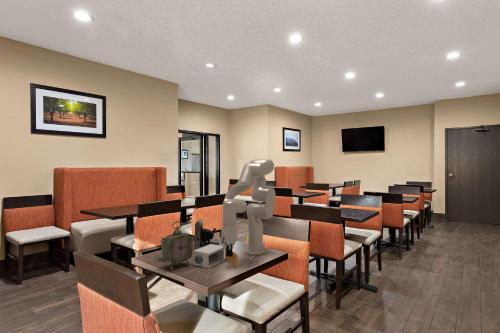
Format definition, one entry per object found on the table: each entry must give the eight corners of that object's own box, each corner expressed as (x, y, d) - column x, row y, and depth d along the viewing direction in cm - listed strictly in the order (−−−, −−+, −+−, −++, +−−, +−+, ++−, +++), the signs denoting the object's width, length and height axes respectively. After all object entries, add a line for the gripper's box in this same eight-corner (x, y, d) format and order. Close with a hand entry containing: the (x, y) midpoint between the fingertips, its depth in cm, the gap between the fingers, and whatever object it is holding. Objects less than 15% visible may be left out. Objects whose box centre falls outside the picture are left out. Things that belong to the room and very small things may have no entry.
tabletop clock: (170, 271, 155) (170, 224, 155) (161, 267, 161) (161, 222, 161) (192, 264, 166) (192, 220, 166) (183, 261, 172) (182, 218, 172)
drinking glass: (173, 261, 171) (173, 240, 171) (157, 260, 173) (157, 240, 173) (180, 256, 181) (180, 236, 181) (165, 255, 183) (165, 236, 183)
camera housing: (210, 257, 179) (210, 244, 179) (225, 260, 174) (225, 246, 174) (191, 265, 164) (191, 251, 164) (207, 269, 158) (207, 254, 158)
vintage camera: (217, 253, 189) (218, 222, 189) (193, 252, 189) (194, 221, 190) (219, 249, 199) (220, 219, 199) (196, 248, 199) (197, 218, 199)
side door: (224, 259, 173) (224, 248, 173) (228, 259, 174) (228, 247, 174) (236, 267, 160) (236, 254, 160) (239, 266, 161) (239, 254, 161)
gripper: (231, 220, 172) (231, 252, 172) (215, 224, 159) (215, 258, 159) (242, 221, 168) (242, 254, 168) (227, 226, 155) (227, 260, 155)
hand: (229, 256), depth 163 cm, fingers closed
